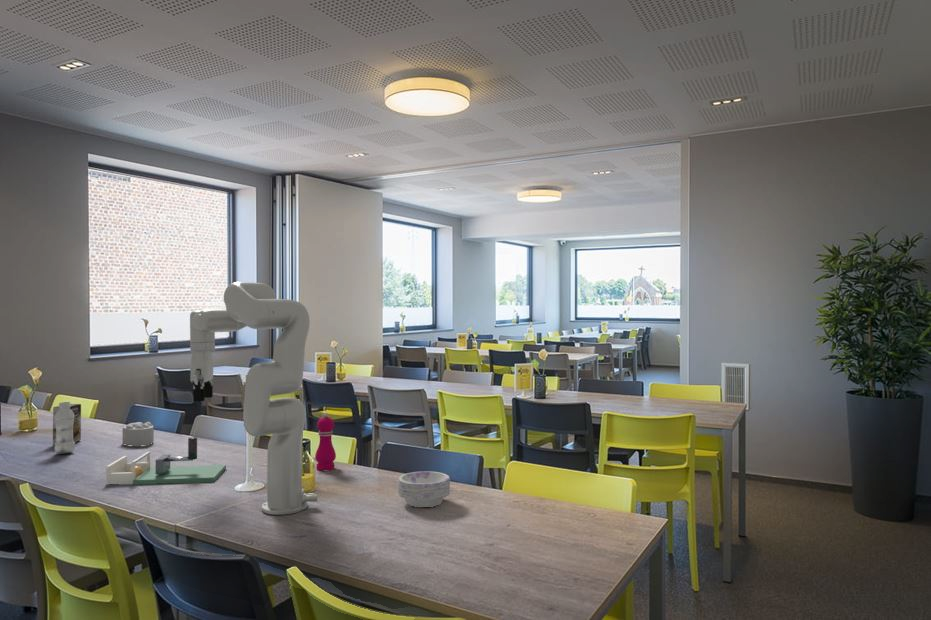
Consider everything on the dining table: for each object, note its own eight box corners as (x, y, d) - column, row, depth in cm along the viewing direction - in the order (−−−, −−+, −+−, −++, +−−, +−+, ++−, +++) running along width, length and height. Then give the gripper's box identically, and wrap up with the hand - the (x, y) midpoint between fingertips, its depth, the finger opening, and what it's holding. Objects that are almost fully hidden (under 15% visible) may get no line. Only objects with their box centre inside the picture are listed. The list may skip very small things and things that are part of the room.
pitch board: (225, 469, 215) (225, 464, 215) (213, 481, 200) (213, 477, 200) (151, 471, 212) (151, 467, 212) (132, 484, 196) (132, 480, 196)
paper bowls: (426, 492, 189) (426, 467, 189) (460, 503, 178) (460, 476, 178) (387, 503, 179) (387, 476, 179) (421, 516, 168) (421, 487, 168)
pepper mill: (330, 472, 212) (330, 415, 212) (311, 470, 214) (311, 414, 214) (339, 466, 219) (339, 411, 219) (320, 465, 221) (320, 410, 221)
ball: (135, 478, 205) (146, 473, 206) (130, 482, 201) (142, 476, 202) (129, 468, 205) (141, 462, 206) (125, 471, 201) (136, 465, 202)
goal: (150, 472, 211) (150, 451, 211) (134, 483, 197) (134, 461, 197) (124, 473, 210) (124, 452, 209) (106, 484, 196) (106, 462, 196)
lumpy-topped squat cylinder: (144, 439, 263) (144, 419, 263) (159, 443, 256) (159, 423, 256) (119, 443, 255) (119, 423, 255) (134, 448, 247) (134, 427, 247)
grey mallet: (199, 467, 210) (200, 435, 210) (193, 473, 203) (193, 440, 203) (162, 468, 208) (162, 436, 208) (155, 474, 201) (155, 441, 201)
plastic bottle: (78, 453, 238) (78, 402, 238) (59, 456, 233) (59, 404, 233) (70, 450, 242) (70, 400, 242) (51, 454, 236) (51, 403, 236)
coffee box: (67, 446, 250) (67, 407, 250) (52, 446, 250) (52, 407, 250) (81, 441, 259) (81, 403, 259) (66, 441, 259) (66, 403, 259)
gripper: (198, 346, 209) (199, 396, 208) (182, 349, 192) (183, 403, 191) (221, 346, 210) (222, 395, 210) (207, 348, 193) (208, 402, 192)
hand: (203, 399), depth 200 cm, fingers open, 9 cm apart
